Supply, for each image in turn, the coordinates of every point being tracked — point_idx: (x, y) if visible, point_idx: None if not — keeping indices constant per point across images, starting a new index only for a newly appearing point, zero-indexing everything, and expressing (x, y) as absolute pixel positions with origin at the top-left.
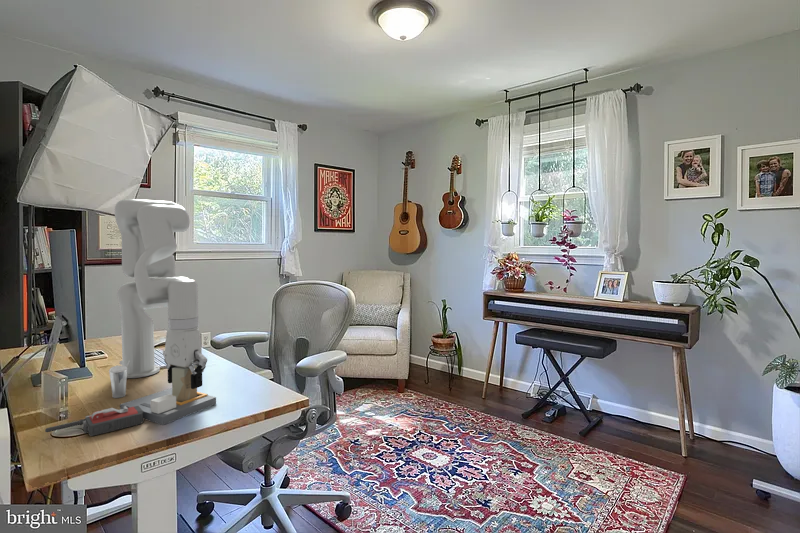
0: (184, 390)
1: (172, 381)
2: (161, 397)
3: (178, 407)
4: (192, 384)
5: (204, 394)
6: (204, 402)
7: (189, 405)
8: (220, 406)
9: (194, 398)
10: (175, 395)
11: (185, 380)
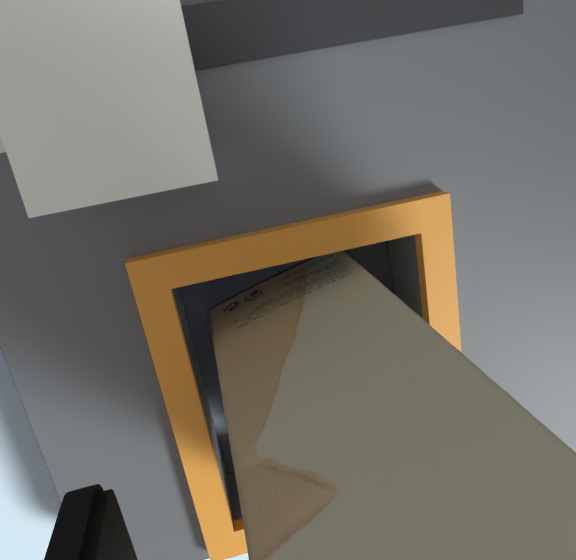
0: (225, 405)
1: (467, 367)
2: (144, 24)
3: (70, 216)
4: (54, 545)
5: (225, 540)
6: (54, 471)
7: (46, 328)
8: (21, 544)
9: (183, 434)
10: (336, 304)
11: (247, 523)
